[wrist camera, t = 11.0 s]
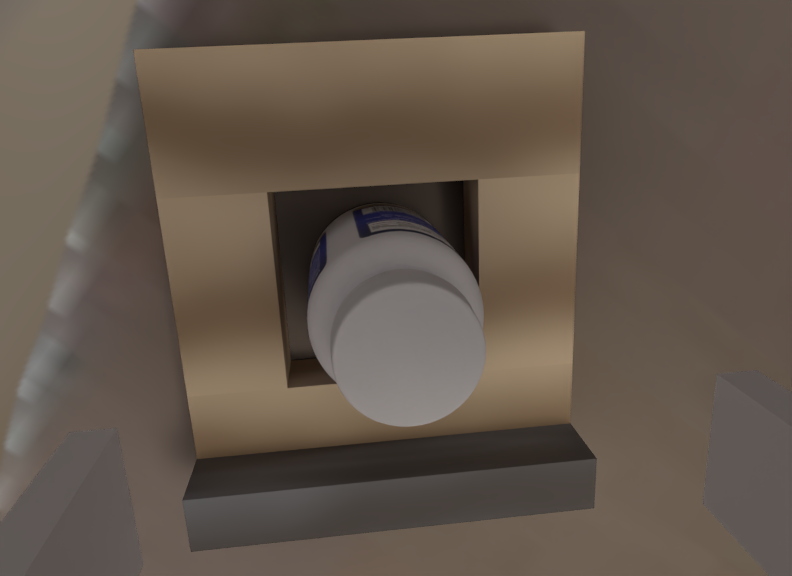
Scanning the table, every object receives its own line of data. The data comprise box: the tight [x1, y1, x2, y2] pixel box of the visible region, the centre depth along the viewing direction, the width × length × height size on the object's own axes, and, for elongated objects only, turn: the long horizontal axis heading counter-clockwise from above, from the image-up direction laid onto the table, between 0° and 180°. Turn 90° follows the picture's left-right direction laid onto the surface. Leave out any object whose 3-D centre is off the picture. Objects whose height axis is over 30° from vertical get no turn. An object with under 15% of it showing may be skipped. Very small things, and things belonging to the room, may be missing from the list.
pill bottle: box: [307, 203, 486, 427], centre depth 20 cm, size 5×5×9 cm
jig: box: [133, 31, 597, 552], centre depth 22 cm, size 16×14×5 cm
